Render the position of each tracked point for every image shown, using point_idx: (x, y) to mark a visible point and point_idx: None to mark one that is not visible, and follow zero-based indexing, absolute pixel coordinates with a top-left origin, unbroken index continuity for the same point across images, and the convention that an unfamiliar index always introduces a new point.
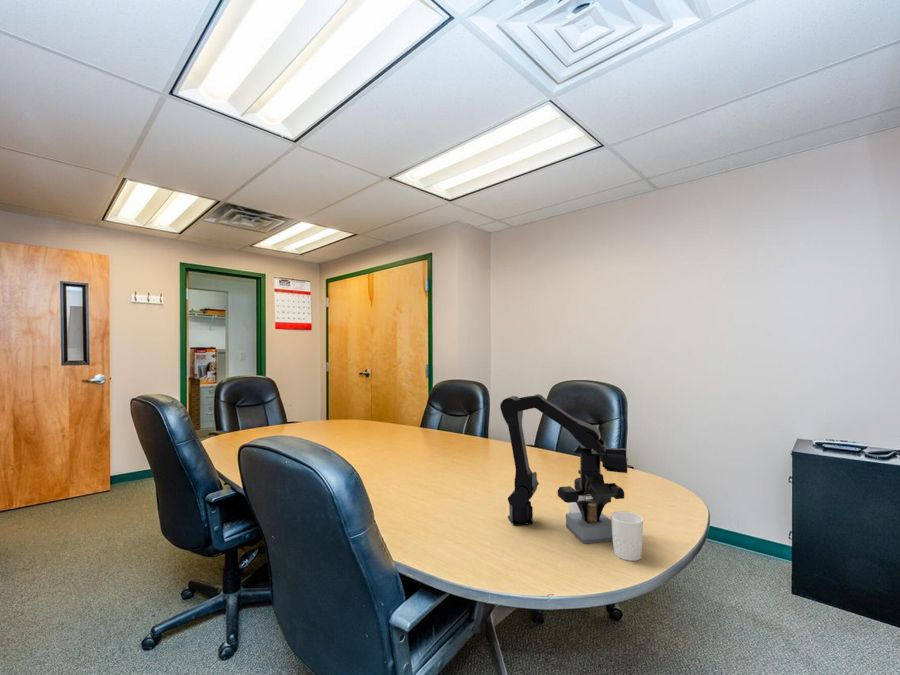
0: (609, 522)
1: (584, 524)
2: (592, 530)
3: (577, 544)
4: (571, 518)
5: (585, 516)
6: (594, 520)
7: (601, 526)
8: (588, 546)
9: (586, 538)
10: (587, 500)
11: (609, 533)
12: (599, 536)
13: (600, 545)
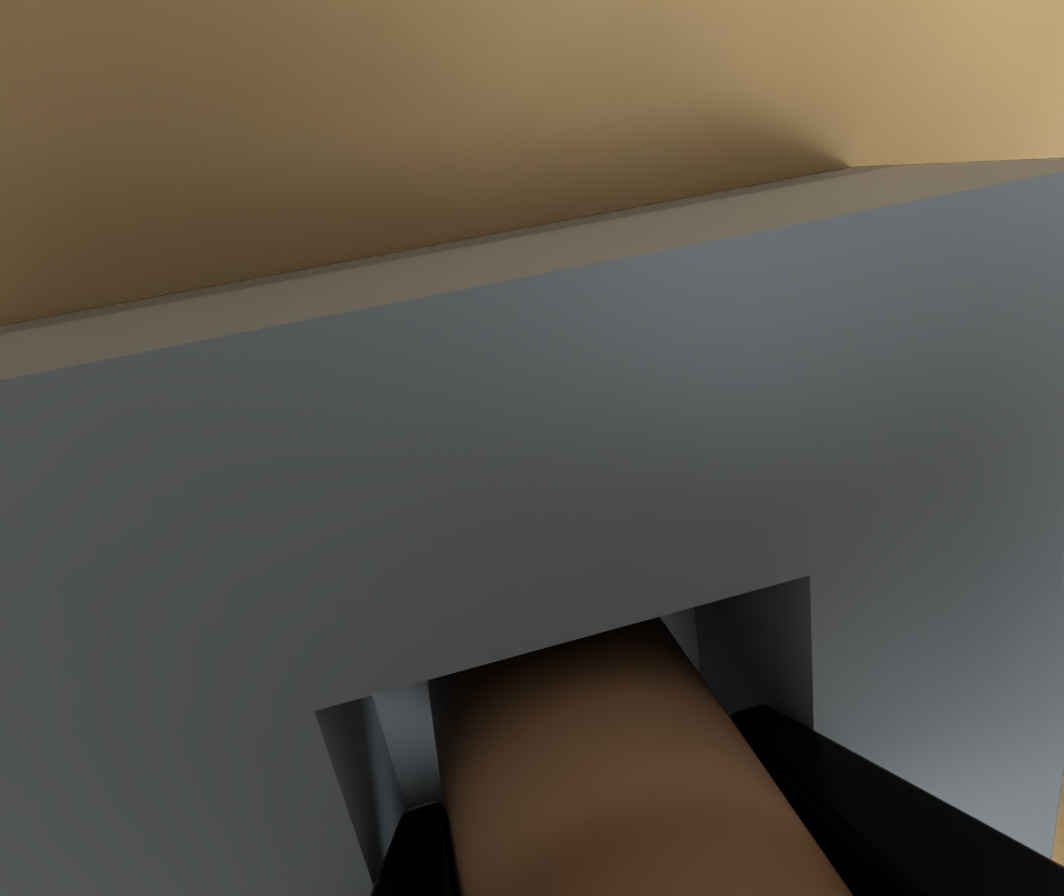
0: (52, 731)
1: (937, 501)
2: (801, 210)
3: (967, 138)
4: (1054, 803)
5: (912, 811)
6: (585, 735)
7: (463, 383)
8: (802, 32)
9: (845, 181)
10: None
11: (204, 308)
12: (519, 242)
13: (526, 68)
